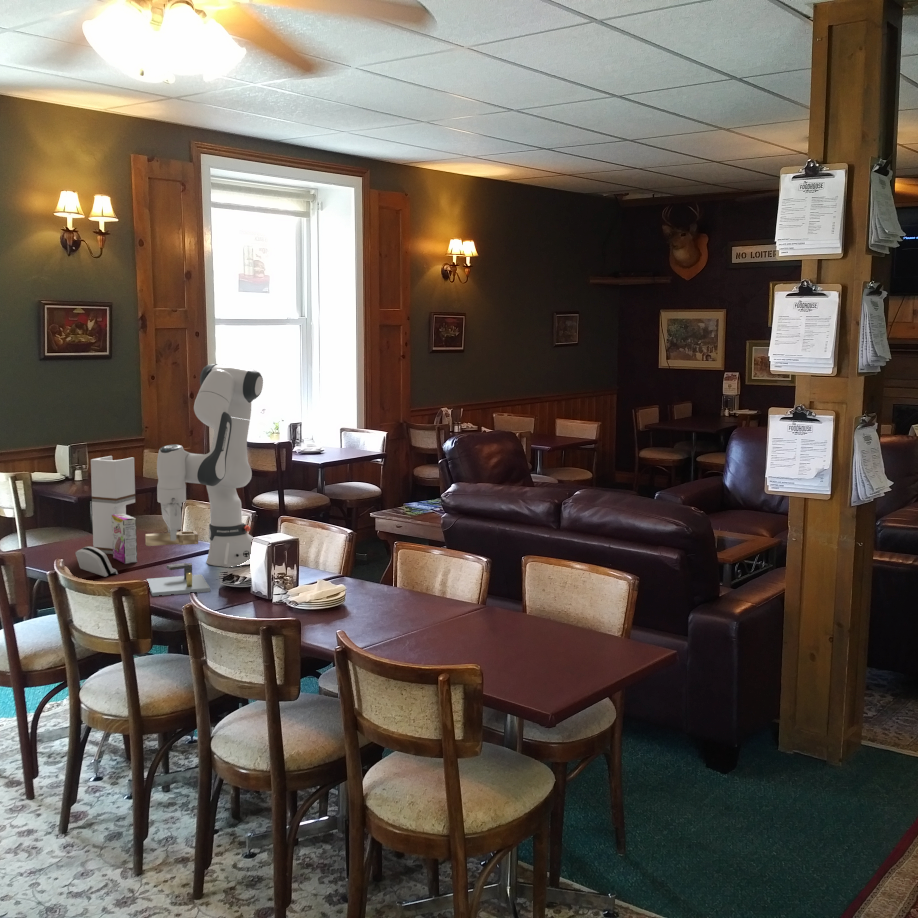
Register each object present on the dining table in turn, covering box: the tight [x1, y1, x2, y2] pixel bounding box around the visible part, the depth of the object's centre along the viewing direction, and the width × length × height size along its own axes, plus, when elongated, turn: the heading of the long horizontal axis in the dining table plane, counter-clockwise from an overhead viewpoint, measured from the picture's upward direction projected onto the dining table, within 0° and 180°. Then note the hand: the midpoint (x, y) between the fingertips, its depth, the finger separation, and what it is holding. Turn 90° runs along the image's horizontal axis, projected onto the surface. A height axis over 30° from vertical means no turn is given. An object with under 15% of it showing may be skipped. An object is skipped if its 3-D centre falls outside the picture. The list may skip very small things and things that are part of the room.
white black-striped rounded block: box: [74, 546, 119, 577], centre depth 342 cm, size 17×5×10 cm, turn 49°
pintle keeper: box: [166, 562, 193, 587], centre depth 326 cm, size 8×13×6 cm, turn 23°
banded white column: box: [90, 455, 136, 555], centre depth 373 cm, size 11×11×35 cm
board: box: [145, 574, 211, 597], centre depth 326 cm, size 18×18×1 cm
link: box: [144, 530, 199, 547], centre depth 318 cm, size 16×6×3 cm, turn 113°
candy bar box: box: [112, 513, 138, 565], centre depth 358 cm, size 11×5×16 cm, turn 41°
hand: (172, 538), depth 318 cm, fingers closed on link, 3 cm apart
